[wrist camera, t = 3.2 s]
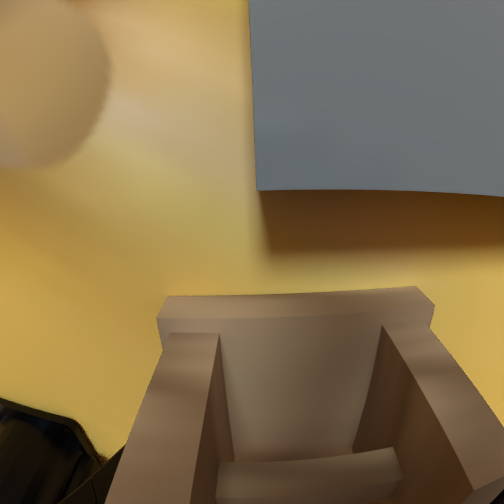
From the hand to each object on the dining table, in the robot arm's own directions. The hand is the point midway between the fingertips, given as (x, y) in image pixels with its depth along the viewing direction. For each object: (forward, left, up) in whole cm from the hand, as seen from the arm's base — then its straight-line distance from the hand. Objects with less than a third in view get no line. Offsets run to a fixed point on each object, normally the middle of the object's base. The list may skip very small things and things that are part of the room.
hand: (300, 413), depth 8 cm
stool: (0, 0, -2) cm, 2 cm away
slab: (+6, +13, -2) cm, 14 cm away
